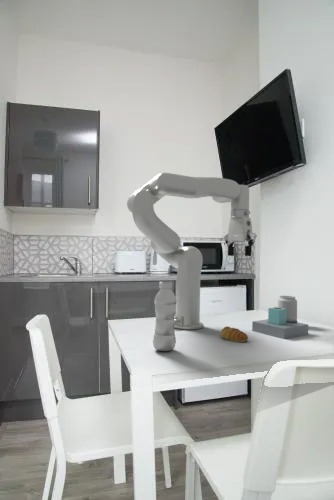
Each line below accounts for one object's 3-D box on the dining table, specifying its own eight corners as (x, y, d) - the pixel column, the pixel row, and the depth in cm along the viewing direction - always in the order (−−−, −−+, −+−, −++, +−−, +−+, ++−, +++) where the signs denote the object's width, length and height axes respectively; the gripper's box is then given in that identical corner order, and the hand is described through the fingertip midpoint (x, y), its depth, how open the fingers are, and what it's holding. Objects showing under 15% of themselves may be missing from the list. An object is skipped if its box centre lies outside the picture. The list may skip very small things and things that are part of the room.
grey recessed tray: (284, 338, 111) (284, 326, 111) (252, 330, 123) (252, 319, 123) (308, 334, 119) (308, 322, 119) (276, 326, 130) (276, 316, 131)
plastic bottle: (152, 347, 98) (153, 280, 98) (174, 347, 98) (175, 281, 99) (153, 353, 91) (154, 282, 92) (177, 353, 92) (178, 282, 92)
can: (293, 323, 138) (294, 295, 138) (299, 327, 130) (299, 297, 131) (275, 323, 138) (276, 294, 139) (280, 326, 131) (280, 296, 131)
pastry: (252, 341, 108) (252, 329, 108) (240, 344, 104) (240, 332, 104) (230, 335, 115) (230, 324, 115) (217, 338, 111) (217, 327, 111)
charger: (278, 335, 117) (278, 309, 117) (268, 332, 120) (268, 307, 121) (286, 333, 119) (286, 308, 120) (275, 331, 123) (276, 306, 123)
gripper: (262, 213, 131) (261, 256, 131) (231, 217, 146) (230, 255, 145) (249, 212, 127) (248, 255, 127) (218, 216, 142) (218, 255, 141)
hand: (239, 255), depth 136 cm, fingers open, 9 cm apart
